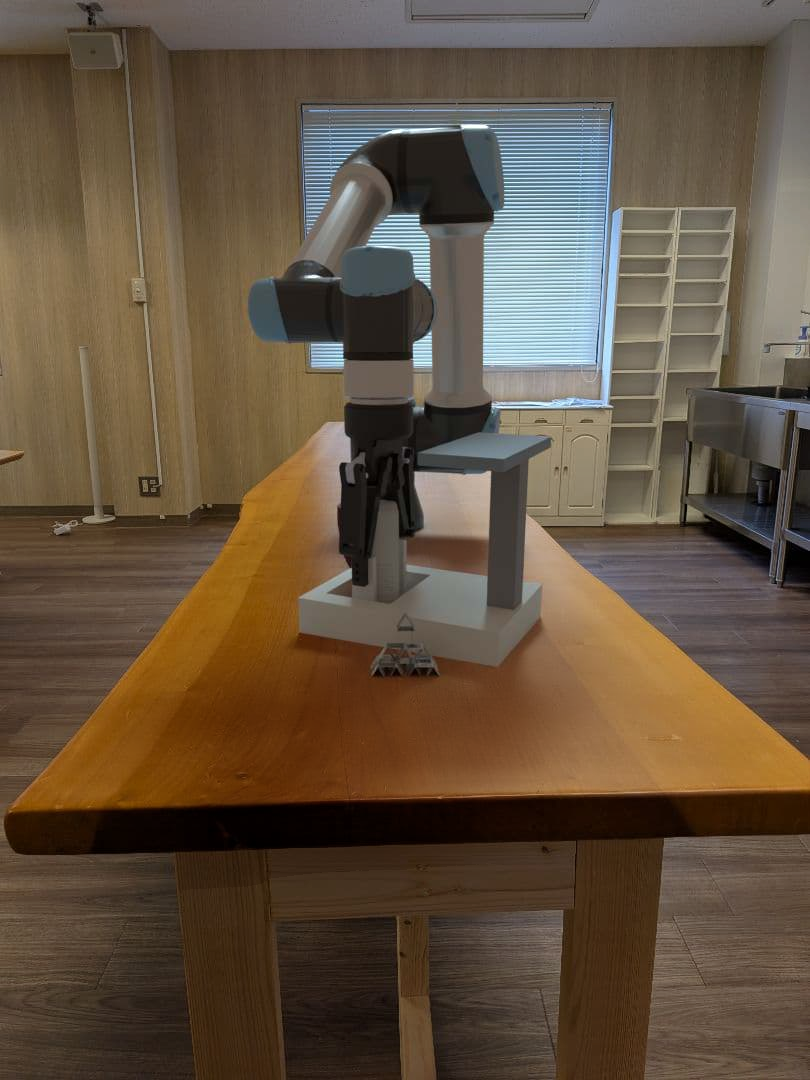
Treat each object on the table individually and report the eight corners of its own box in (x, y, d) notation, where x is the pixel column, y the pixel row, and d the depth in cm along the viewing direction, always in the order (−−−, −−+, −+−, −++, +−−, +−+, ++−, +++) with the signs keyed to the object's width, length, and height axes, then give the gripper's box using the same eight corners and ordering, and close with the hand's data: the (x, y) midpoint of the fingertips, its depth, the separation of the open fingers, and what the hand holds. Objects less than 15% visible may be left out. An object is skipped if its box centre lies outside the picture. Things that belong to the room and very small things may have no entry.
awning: (474, 572, 88) (478, 432, 84) (543, 582, 85) (551, 436, 80) (416, 620, 73) (417, 452, 69) (497, 634, 70) (503, 458, 65)
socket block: (367, 595, 95) (367, 559, 94) (540, 624, 86) (542, 584, 84) (299, 639, 81) (298, 597, 80) (497, 679, 72) (498, 632, 70)
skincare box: (361, 596, 88) (359, 499, 85) (396, 595, 88) (396, 498, 85) (362, 614, 82) (360, 511, 79) (400, 613, 82) (400, 510, 79)
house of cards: (453, 658, 77) (455, 590, 75) (461, 697, 69) (463, 622, 67) (369, 659, 77) (368, 590, 75) (366, 698, 69) (365, 622, 67)
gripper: (388, 393, 89) (389, 571, 95) (298, 407, 72) (306, 624, 78) (445, 395, 86) (442, 579, 92) (365, 410, 68) (368, 636, 75)
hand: (380, 599), depth 85 cm, fingers closed on skincare box, 7 cm apart
